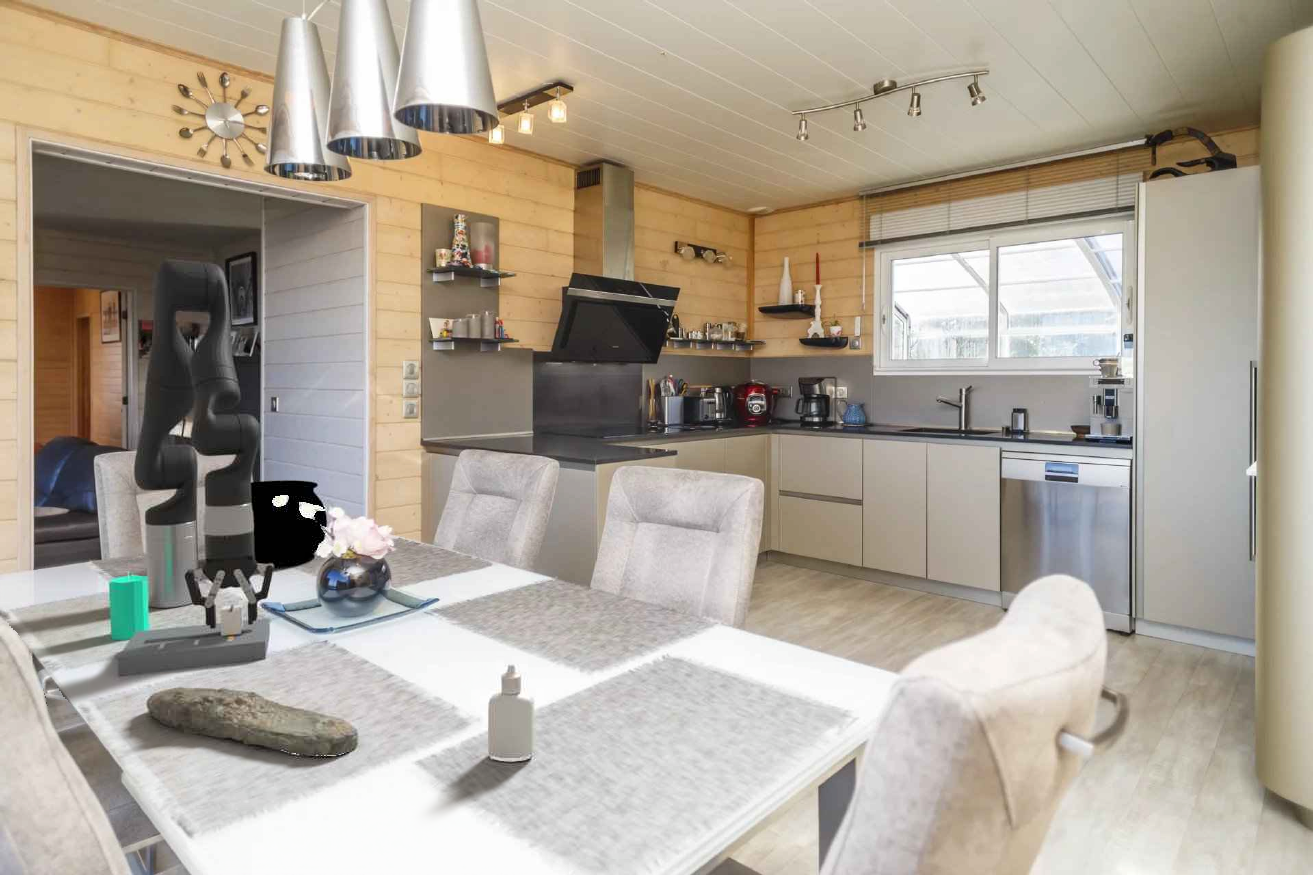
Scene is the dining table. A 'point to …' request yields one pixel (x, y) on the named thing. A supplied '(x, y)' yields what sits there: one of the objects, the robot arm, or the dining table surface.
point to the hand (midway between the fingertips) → (232, 624)
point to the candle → (128, 606)
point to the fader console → (192, 647)
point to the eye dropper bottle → (511, 719)
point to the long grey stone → (252, 720)
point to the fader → (231, 620)
